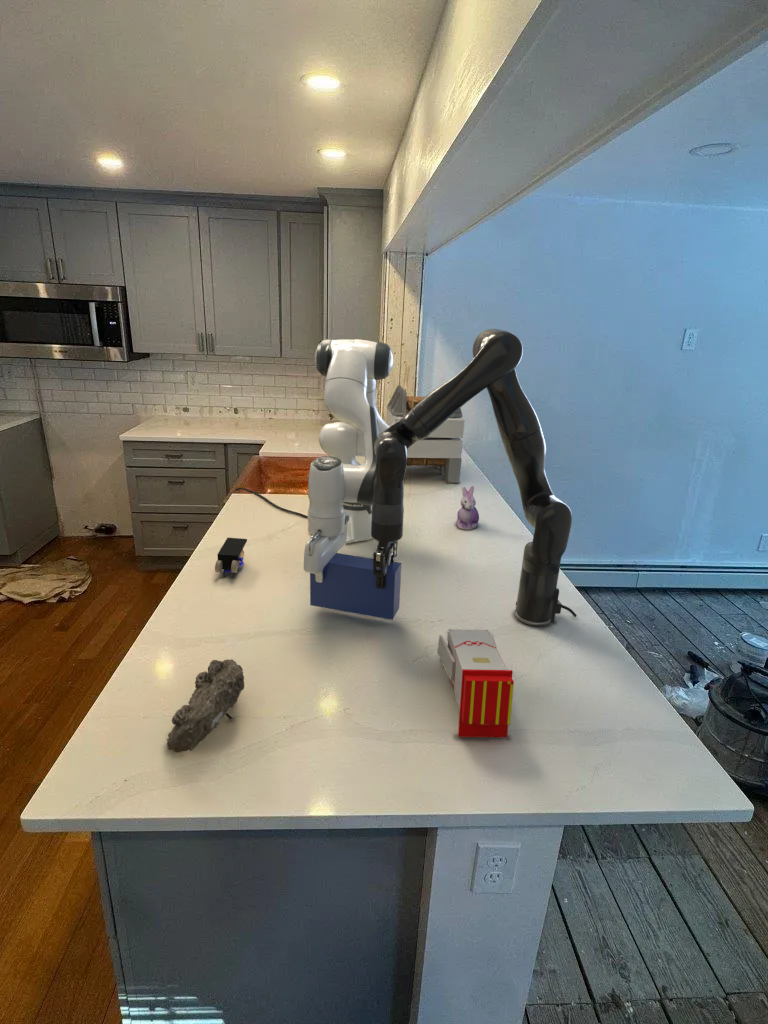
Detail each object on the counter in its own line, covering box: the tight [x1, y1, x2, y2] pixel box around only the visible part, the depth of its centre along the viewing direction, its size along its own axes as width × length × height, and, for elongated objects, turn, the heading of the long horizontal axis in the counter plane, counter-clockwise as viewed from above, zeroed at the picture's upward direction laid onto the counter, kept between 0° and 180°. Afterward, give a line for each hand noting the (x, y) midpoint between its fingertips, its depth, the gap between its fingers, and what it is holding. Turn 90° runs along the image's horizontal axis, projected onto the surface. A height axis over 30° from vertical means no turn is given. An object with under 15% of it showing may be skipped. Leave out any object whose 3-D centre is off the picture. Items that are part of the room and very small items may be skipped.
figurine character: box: [214, 537, 248, 578], centre depth 166 cm, size 7×8×15 cm
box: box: [309, 552, 402, 621], centre depth 142 cm, size 22×6×13 cm, turn 74°
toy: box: [437, 628, 515, 738], centre depth 117 cm, size 12×13×30 cm
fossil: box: [166, 658, 245, 754], centre depth 106 cm, size 22×10×15 cm
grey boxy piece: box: [385, 384, 465, 484], centre depth 268 cm, size 34×33×41 cm
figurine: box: [456, 485, 480, 530], centre depth 208 cm, size 9×10×15 cm
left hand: (325, 574), depth 143 cm, fingers closed on box, 6 cm apart
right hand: (384, 581), depth 139 cm, fingers closed on box, 6 cm apart
